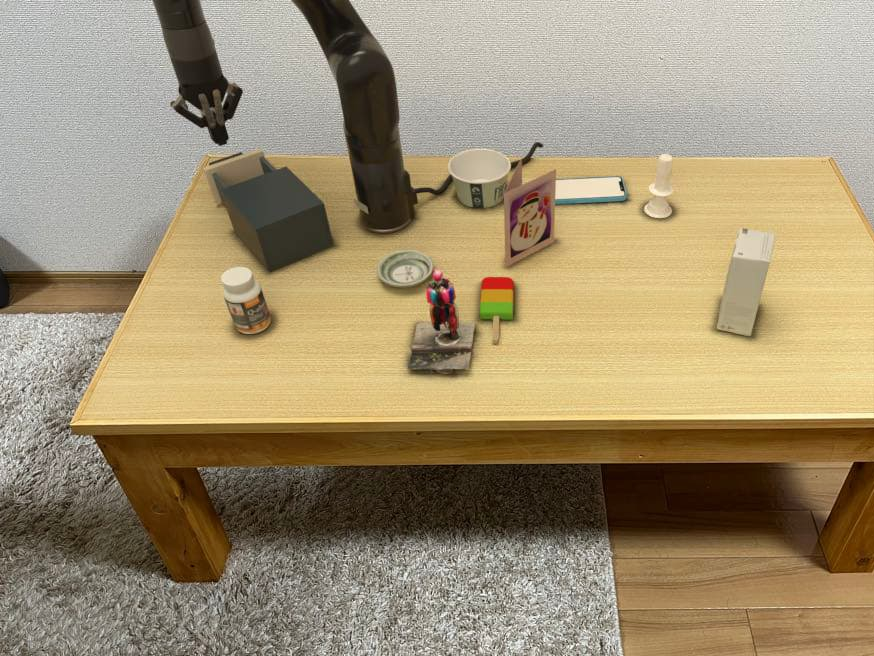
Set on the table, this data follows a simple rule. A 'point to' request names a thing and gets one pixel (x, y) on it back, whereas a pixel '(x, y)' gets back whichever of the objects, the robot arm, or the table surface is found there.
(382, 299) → the table surface
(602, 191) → the smartphone
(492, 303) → the popsicle
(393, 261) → the saucer
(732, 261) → the cosmetic box
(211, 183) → the drawer
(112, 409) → the table surface
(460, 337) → the statue
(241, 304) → the pill bottle
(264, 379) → the table surface
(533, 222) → the greeting card
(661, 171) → the candle
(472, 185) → the food container
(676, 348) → the table surface
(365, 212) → the robot arm
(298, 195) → the cabinet
